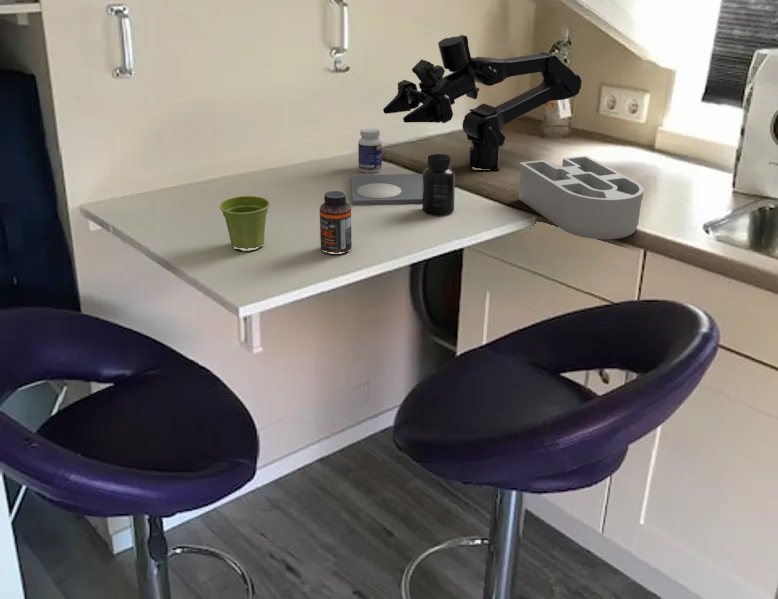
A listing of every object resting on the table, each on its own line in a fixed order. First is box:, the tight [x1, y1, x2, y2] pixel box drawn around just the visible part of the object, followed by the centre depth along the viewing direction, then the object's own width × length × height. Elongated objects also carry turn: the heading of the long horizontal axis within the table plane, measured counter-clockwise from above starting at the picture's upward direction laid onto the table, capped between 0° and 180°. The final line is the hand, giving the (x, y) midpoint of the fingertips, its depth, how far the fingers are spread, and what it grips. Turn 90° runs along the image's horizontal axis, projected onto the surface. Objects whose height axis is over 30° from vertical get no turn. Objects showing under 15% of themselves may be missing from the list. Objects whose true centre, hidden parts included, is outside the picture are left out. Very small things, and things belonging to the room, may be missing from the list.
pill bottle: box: [357, 127, 383, 174], centre depth 208 cm, size 6×6×10 cm
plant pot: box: [219, 195, 271, 249], centre depth 164 cm, size 9×9×9 cm
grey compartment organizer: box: [518, 155, 645, 240], centre depth 180 cm, size 17×28×9 cm, turn 19°
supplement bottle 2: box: [421, 153, 456, 217], centre depth 181 cm, size 7×7×12 cm
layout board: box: [350, 173, 423, 206], centre depth 196 cm, size 22×18×1 cm
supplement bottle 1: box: [319, 190, 353, 253], centre depth 162 cm, size 6×6×11 cm
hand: (393, 115), depth 194 cm, fingers open, 9 cm apart
